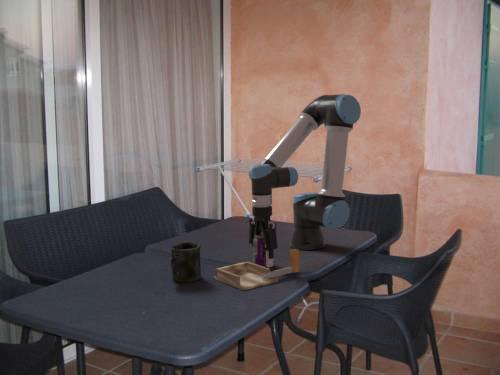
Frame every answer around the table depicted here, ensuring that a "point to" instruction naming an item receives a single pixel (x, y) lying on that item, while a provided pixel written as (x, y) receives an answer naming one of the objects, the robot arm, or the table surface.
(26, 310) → the table surface
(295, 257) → the lock bar
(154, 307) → the table surface
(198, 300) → the table surface
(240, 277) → the wooden tray
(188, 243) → the mug
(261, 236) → the beverage can
